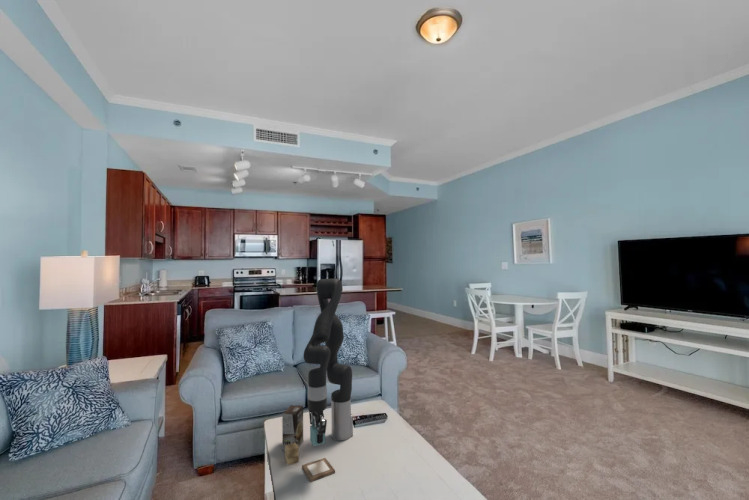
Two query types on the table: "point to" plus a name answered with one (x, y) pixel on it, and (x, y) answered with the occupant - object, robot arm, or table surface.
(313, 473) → the brown framed white board
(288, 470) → the table surface
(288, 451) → the ochre block
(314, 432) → the teal block
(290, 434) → the coffee box
